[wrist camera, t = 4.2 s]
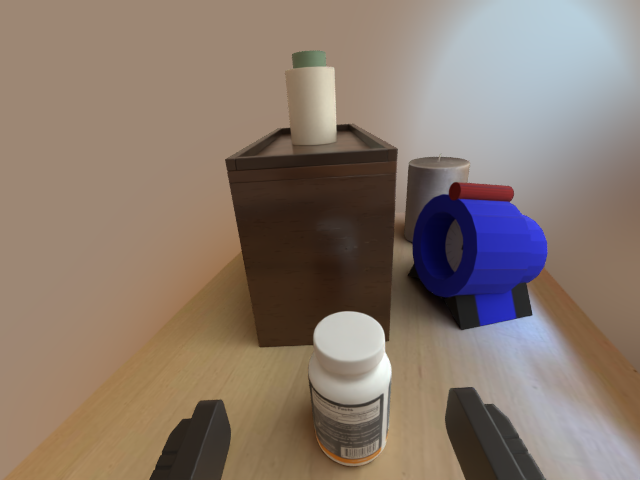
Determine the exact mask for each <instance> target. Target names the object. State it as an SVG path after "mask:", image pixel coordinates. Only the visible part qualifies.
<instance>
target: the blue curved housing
mask: <svg viewBox="0 0 640 480" xmlns="http://www.w3.org/2000/svg"><path fill="white" fill-rule="evenodd" d="M513 196H514V191H513V189H512V187H510V186H501V185H487V184H474V183H462V182H454V183H453V184H451V186H450V188H449V194H442V195H439V196H436V197H433V198H432V199H431V200H430V201H429V202H428V203H427V204H426V205H425V206H424V208H423V209H422V211H421V212H420V214H419V216H418V219H417V222H416V225H415V228H414V234H413V258H414V265H413V267H412V269H411V271H410V273H409V274H408V276H412V277H416V278H420V280H421V281H422V283H423V284H424V285H425V287H426V288H427V289H428V290H429V291H430V292H432V293H433V294H435V295H436V296H442V297H449V298H446V299H444V301H445V302H446V304H447V306H448V307H449V309H450V311H451V313H452V314H453V316H454V318H455V320H456V321H457V323H458V325H459V327H460V328H461V330H464V329H469V328H474V327H478V326H483V325H488V324H492V323H497V322H502V321H506V320H511V319H516V318H521V317H525V316H530V315H532V310H531V305H530V300H529V295H528V290H527V285H526V283H528V282H530V281H532V280H533V279H534V278H536V277H537V276H538V275H539V273H540V272H541V270H542V269H543V267H544V265H545V261H546V257H547V241H546V238H545V236H544V233H543V230H542V229H541V228H540V227H539V225H538V224H537V223H536V222H535V221H534V220H532V219H531V218H529V217H527V216H525V215H522V214H521V213H520V211H519V210H518V209H517V207H516V206H514V205H513V204H511V203H510V201H511V200H512V199H513Z"/></svg>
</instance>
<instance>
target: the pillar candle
mask: <svg viewBox="0 0 640 480" xmlns="http://www.w3.org/2000/svg"><path fill="white" fill-rule="evenodd" d="M440 156H441V154H440ZM440 156H439V157H425V158H419V159H414V160H411V161H410V162H409V169H408V184H407V199H406V200H407V201H406V214H405V229H404V236H405V238H406V239H407V240H408V241H410V242H412V243H413V234H414V228H415V225H416V222H417V219H418V216H419V214H420V212H421V211H422V209H423V208H424V206H425V205H426V204H427V203H428V202H429V201H430V200H431V199H432V198H433V197H436V196H439V195H442V194H449V188H450V186H451V184H453V183H454V182H462V183H467V181H468V174H469V166H470V162H469V161H467V160H464V159H460V158H451V157H440Z"/></svg>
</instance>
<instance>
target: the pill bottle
mask: <svg viewBox="0 0 640 480" xmlns="http://www.w3.org/2000/svg"><path fill="white" fill-rule="evenodd" d="M313 343H314V352H313V354H312V356H311V358H310V361H309V367H308V377H309V386H310V394H311V403H312V412H313V420H314V428H315V434H316V438H317V441H318V444H319V445H320V447H321V449H322V450H323V452H324V453H325V454H326V455H327V456H328V457H329V458H331V459H332V460H334V461H335V462H337V463H340V464H342V465H346V466H360V465H364V464H367V463H369V462H371V461H372V460H374V459H375V458H377V457H378V456H379V454H380V453H381V452H382V450H383V449H384V447H385V444H386V441H387V437H388V428H389V410H390V393H391V376H392V371H391V365H390V361H389V359H388V356H387V355H386V353H385V334H384V331H383V329H382V327H381V325H380V324H379V323H378V322H377V321H376V320H375V319H373V318H372V317H370V316H368V315H366V314H363V313H359V312H351V311H344V312H338V313H334V314H331V315H329V316H327V317H325V318H324V319H323V320H321V321H320V322H319V323H318V325H317V326H316V328H315V330H314V334H313Z"/></svg>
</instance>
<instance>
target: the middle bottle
mask: <svg viewBox="0 0 640 480" xmlns="http://www.w3.org/2000/svg"><path fill="white" fill-rule="evenodd" d="M292 60H293V69H290V70H287V71H285V75H286V85H287V95H288V96H287V97H288V107H289V117H290V129H291V139H292V144H293V145H302V146H305V145H322V144H329V143H334V142H336V141H337V131H336V104H335V103H336V102H335V74H334V68H333V67H326V57H325V52H323V51H302V52H297V53H294V54H292Z"/></svg>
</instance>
